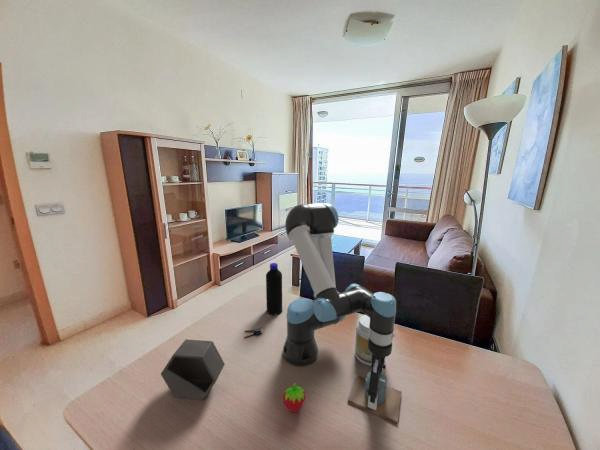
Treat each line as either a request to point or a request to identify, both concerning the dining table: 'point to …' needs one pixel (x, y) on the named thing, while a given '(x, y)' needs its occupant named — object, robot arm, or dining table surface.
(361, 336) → the supplement tub
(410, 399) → the dining table surface
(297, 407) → the strawberry
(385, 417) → the stud board
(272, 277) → the bottle
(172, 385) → the planter
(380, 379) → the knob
